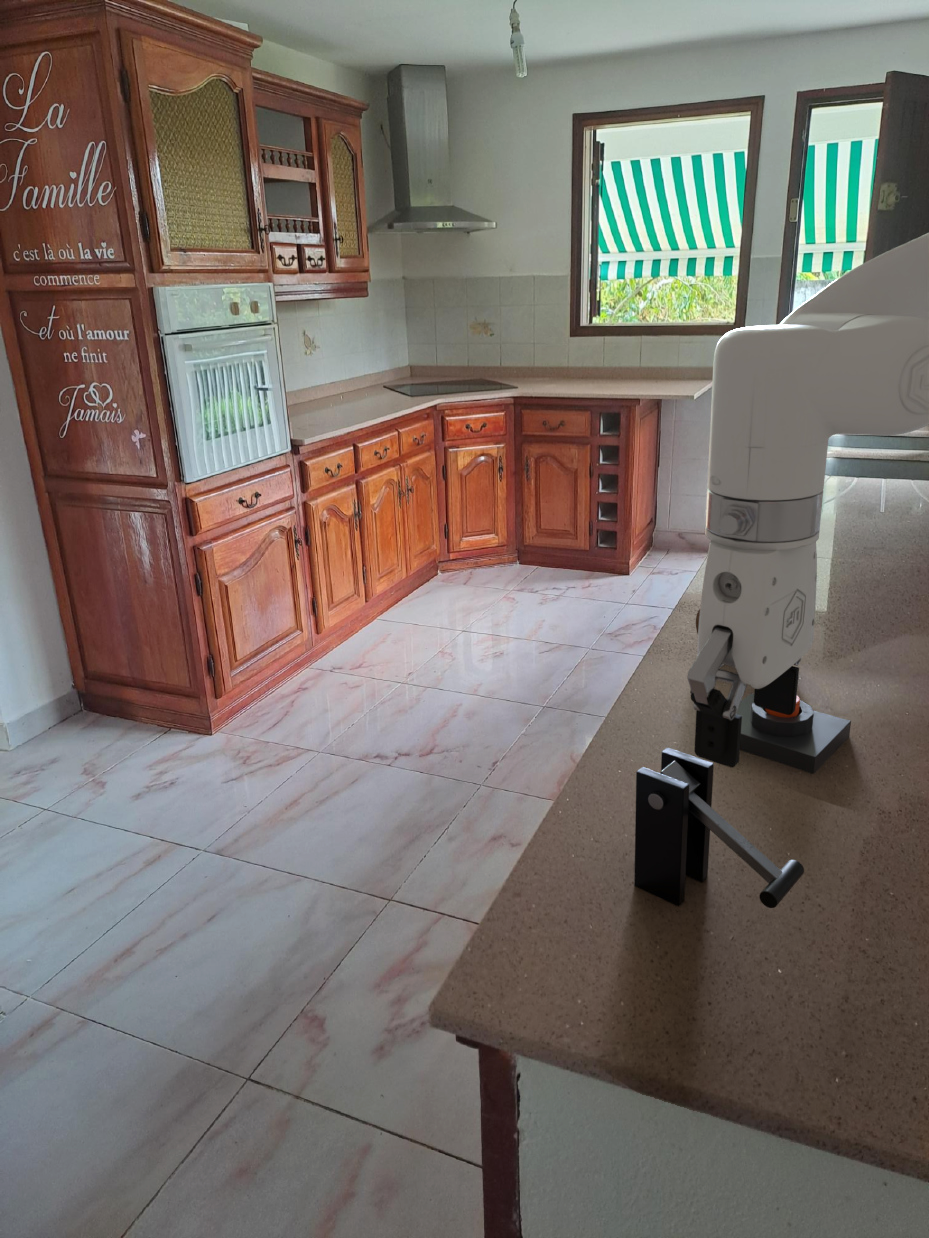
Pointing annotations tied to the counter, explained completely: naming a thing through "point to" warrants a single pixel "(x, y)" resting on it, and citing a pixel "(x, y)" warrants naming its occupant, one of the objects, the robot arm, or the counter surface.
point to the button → (785, 714)
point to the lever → (740, 843)
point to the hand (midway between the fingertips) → (746, 733)
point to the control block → (791, 735)
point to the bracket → (671, 828)
